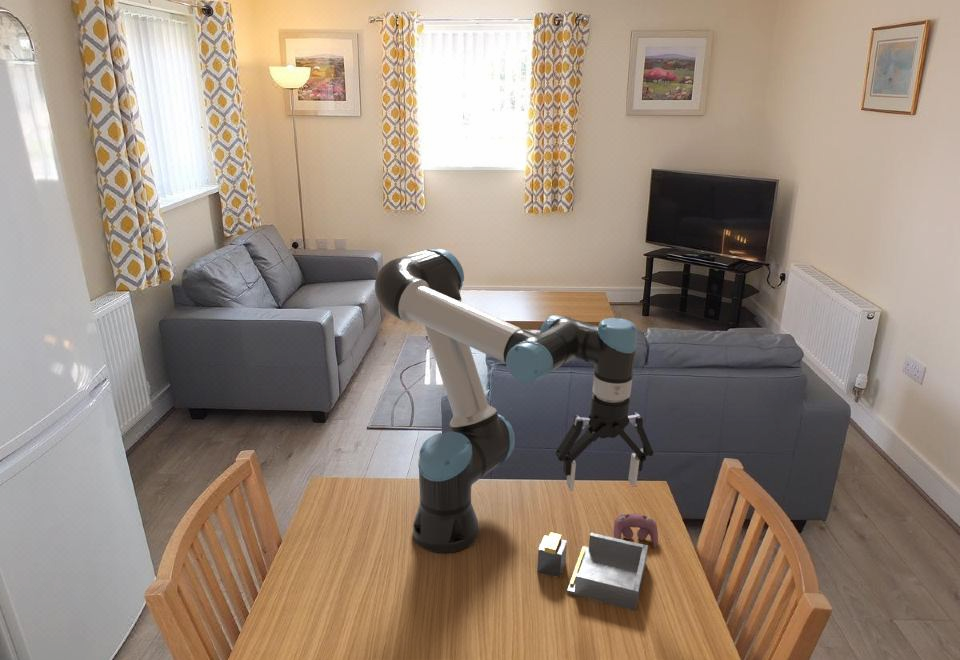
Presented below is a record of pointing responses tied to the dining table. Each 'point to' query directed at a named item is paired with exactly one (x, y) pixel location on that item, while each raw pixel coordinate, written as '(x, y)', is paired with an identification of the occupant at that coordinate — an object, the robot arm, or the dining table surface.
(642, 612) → the dining table surface
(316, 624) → the dining table surface
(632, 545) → the open box
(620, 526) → the video game controller
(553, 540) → the grey and yellow block
